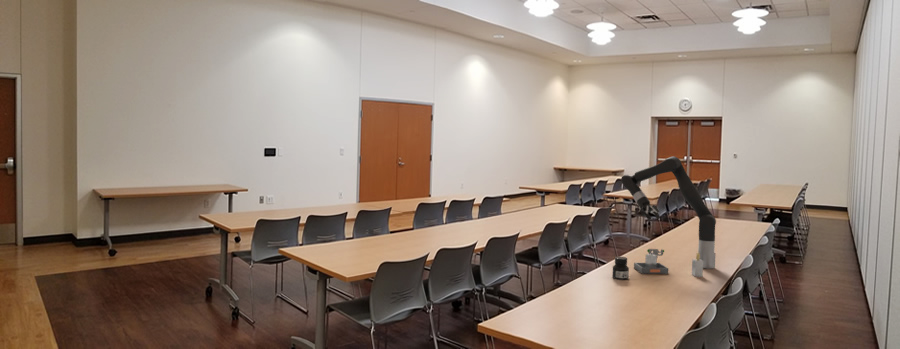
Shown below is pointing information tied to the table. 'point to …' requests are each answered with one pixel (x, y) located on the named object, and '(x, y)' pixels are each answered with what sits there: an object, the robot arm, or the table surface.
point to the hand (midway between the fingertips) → (654, 219)
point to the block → (650, 261)
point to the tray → (651, 269)
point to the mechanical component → (655, 252)
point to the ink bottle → (620, 268)
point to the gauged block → (697, 266)
